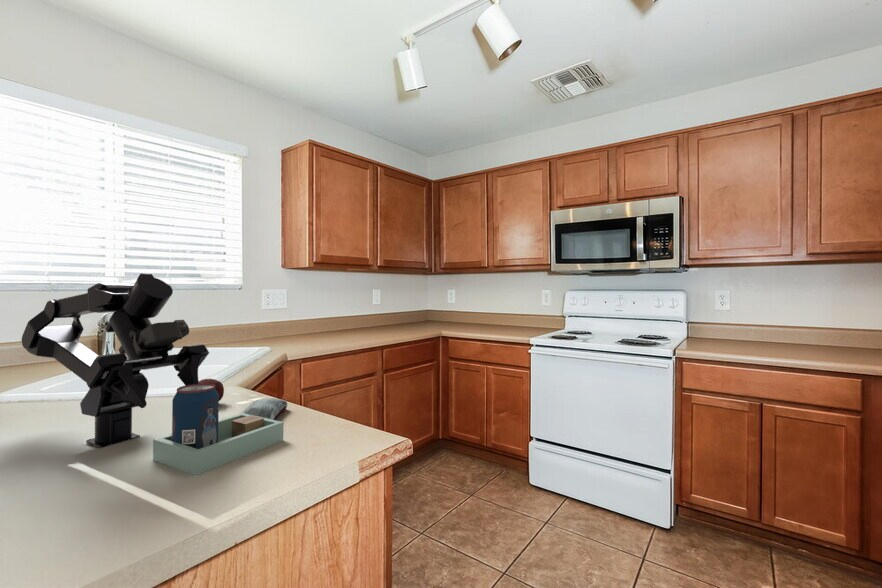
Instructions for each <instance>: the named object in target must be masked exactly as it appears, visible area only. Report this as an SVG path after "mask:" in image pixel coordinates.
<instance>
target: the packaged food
mask: <svg viewBox="0 0 882 588" xmlns="http://www.w3.org/2000/svg"><path fill="white" fill-rule="evenodd" d="M287 408H288V401H286V400H282V399H278V398H262V399H258V400H255V401H253V402H251V404H249V405H248V406H247V407H245V408H244V409H243V410H242V411H241V412H239V414H242V413H245V414H249V415H254V416H258V417H263V418H267V419H272V420H276V421H277V419H279V417H280V416H281V415H283V413H285V412H286V410H287Z"/></svg>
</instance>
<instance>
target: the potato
mask: <svg viewBox="0 0 882 588" xmlns="http://www.w3.org/2000/svg"><path fill="white" fill-rule="evenodd" d="M198 382H199V384H213V385H215V389H216V391H217V393H218V395H219V402H220V401H221V400H222V399H223V397H224V394H225V387H224V384H223V383H222V382H221V381H219V380H218V379H213V378H204V379H200V380H198Z"/></svg>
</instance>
